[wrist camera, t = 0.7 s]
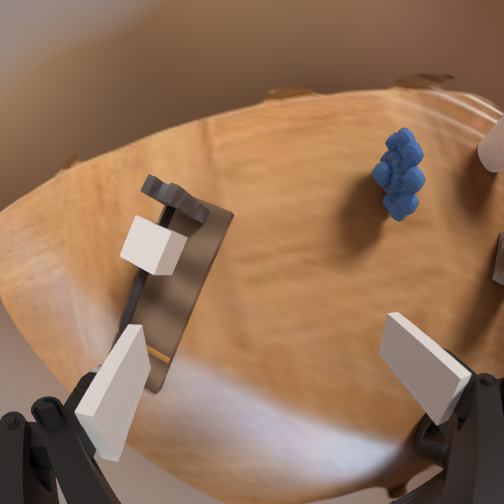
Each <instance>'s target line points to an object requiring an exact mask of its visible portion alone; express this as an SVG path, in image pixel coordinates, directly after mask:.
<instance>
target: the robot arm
mask: <svg viewBox="0 0 504 504" xmlns="http://www.w3.org/2000/svg"><path fill="white" fill-rule="evenodd" d="M378 355H379V356H380V357H381V358H382V359H383V360H384V362H385V363H386V364H387V365H388V366H389V368H390V369H391V370H392V371H393V372H394V374H395V375H396V376H397V377H398V378H399V380H400V381H401V382H402V383H403V384H404V386H405V387H406V388H407V389H408V391H409V392H410V393H411V394H412V396H413V397H414V398H415V399H416V400H417V402H418V403H419V404H420V405H421V407H422V408H423V409H424V410H425V412H426V415H425V416H424V418H423V419H422V421H421V423H420V424H419V426H418V429H417V431H416V434H415V439H414V445H415V449H416V451H417V452H418V453H419V455H420V456H421V457H422V458H423V459H424V460H426V461H428V462H430V463H432V464H434V465H437V466H439V467H441V468H443V469H444V470H443V471H441V472H440V473H439V474H437V475H436V476H434V477H433V478H431V479H430V480H429V481H427V482H425V483H424V484H423V485H421V486H419V487H418V488H416V489H415V490H413V491H411V492H410V493H408V494H406V495H405V496H403V497H401V498H399V499H397V500H396V501H392V502H390V503H389V504H504V378H500V379H496V378H495V377H494V376H492V375H491V374H487V373H481V374H478V375H477V374H476V373H475V372H474V371H473V370H471V369H470V368H469V367H468V366H467V365H466V364H464V363H463V362H461V360H460V359H459V358H456V356H455V355H454V354H453V353H452V352H450V351H449V350H446V349H444V348H442V347H440V346H439V345H438V344H436V343H435V342H434V341H433V340H432V339H430V338H429V337H428V336H427V335H426V334H424V333H423V332H422V331H421V330H420V329H418V328H417V327H416V326H415V325H413V324H412V323H411V322H410V321H409V320H407V319H406V318H405V317H404V316H402V315H401V314H400V313H399V312H395V313H388V314H387V318H386V323H385V328H384V332H383V337H382V341H381V345H380V349H379V353H378ZM150 370H151V366H150V361H149V357H148V352H147V347H146V342H145V337H144V332H143V326H142V325H133V324H128V326H127V327H126V329H125V331H124V332H123V334H122V335H121V337H120V338H119V340H118V341H117V343H116V344H115V346H114V347H113V349H112V351H111V352H110V354H109V355H108V357H107V358H106V360H105V362H104V363H103V365H102V366H101V368H100V370H99V371H98V373H95V372H89V373H87V374H86V375H84V376H83V377H82V378H81V379H80V381H79V382H78V384H77V387H75V388H74V390H73V393H71V395H70V396H69V398H68V399H67V401H66V403H65V404H64V406H63V405H62V403H61V402H60V400H59V399H57V398H55V397H50V396H49V397H43V398H40V399H38V400H37V401H36V402H34V404H33V406H32V407H31V413H32V415H33V416H34V418H35V420H36V422H27V421H26V420H25V418H24V416H23V415H22V414H20V413H19V412H14V411H13V412H9V413H7V414H5V415H4V416H3V417H2V418H1V420H0V504H59V499H58V492H57V485H56V478H57V480H58V483H59V485H60V488H61V490H62V492H63V494H64V497H65V499H66V502H67V504H121V503H120V501H119V500H118V498H117V497H116V495H115V494H114V492H113V490H112V489H111V487H110V485H109V484H108V482H107V480H106V479H105V477H104V475H103V474H102V472H101V470H100V468H99V466H98V464H97V462H96V461H95V459H94V458H93V457H94V454H95V452H96V451H97V452H98V454H99V456H100V457H101V458H102V459H106V460H111V461H115V462H119V459H120V456H121V452H122V450H123V446H124V444H125V440H126V437H127V434H128V431H129V428H130V425H131V422H132V419H133V417H134V414H135V411H136V408H137V405H138V402H139V399H140V397H141V394H142V391H143V388H144V386H145V383H146V380H147V378H148V375H149V372H150ZM55 475H56V476H55Z"/></svg>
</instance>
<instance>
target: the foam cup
mask: <svg viewBox="0 0 504 504" xmlns="http://www.w3.org/2000/svg"><path fill="white" fill-rule="evenodd" d="M477 150H478V156H479V158H480V161H481V163H482V164H483V166H484V167H485V168H486V169H487V170H488V171H490V172H494V173H495V172H499V171H502V170H504V113H503V116H502V117H501V118H500V120H499V121H498V122H497V123H496V124H495V126H494V127H493V128H492V129H491V130H490V132H489V133H488V134H487V135H486V136H485V137H484V139H483V140H482V141H481V142H480V144H478V148H477Z"/></svg>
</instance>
